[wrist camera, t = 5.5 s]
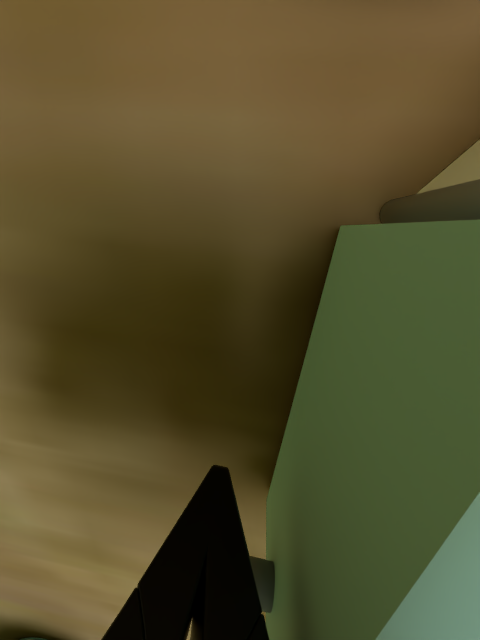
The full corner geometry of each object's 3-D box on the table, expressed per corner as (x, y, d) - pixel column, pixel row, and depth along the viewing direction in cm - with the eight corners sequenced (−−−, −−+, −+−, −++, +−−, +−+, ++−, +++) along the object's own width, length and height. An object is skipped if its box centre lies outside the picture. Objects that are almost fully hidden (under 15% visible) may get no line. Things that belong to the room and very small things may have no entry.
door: (301, 219, 8) (448, 177, 1) (380, 231, 8) (930, 247, 1) (241, 494, 12) (213, 782, 6) (291, 505, 12) (317, 809, 6)
